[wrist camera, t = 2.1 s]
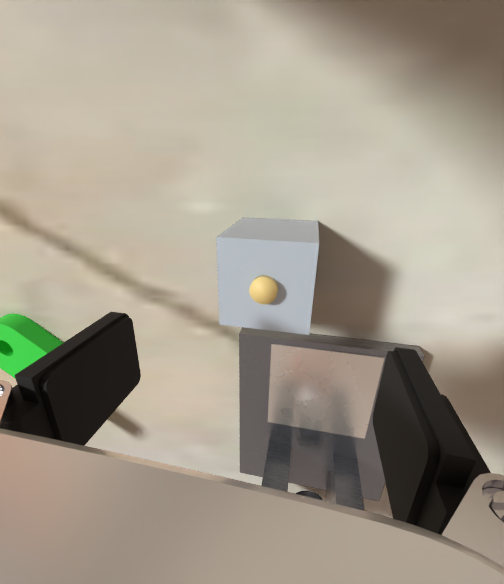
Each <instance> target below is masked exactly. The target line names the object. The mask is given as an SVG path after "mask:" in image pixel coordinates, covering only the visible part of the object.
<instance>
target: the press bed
mask: <svg viewBox="0 0 504 584" xmlns="http://www.w3.org/2000/svg"><path fill="white" fill-rule="evenodd" d="M395 347H399V348H407V349H414V350H416V352H417V353H418V355H419V357H420V359H421V361H422V362H423V359H424V354H423V353H422V351H421V349H420V347H419V346H413V345H404V344H396V343H387V342H378V341H370V340H361V339H353V338H344V337H335V336H327V335H318V334H309V335H305V334H297V333H288V332H280V331H271V330H262V329H254V328H245V327H242V329H241V331H240V333H239V368H240V472H241V473H246V474H250V475H255V476H260V477H263V480H262V486H264V487H268V488H272V489H277V490H281V491H285V492H287V490H288V482H289V483H294V484H299V485H303V486H308V487H313V488H318V489H323V490H326V499H327V502H331V503H335V504H339V505H343V506H347V507H351V508H355V509H359V510H363V511H365V510H364V503H363V498H366V499H371V500H376V501H379V500H380V497H381V494H382V491H383V488H384V484H385V478H384V473H383V468H382V464H381V459H380V455H379V450H378V445H377V441H376V436H375V432H374V427H373V411H374V407H375V403H376V398H377V394H378V390H379V385H380V381H381V377H382V373H383V368H384V364H385V360H386V355H387V352H388V351H393V350H394V348H395Z"/></svg>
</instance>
